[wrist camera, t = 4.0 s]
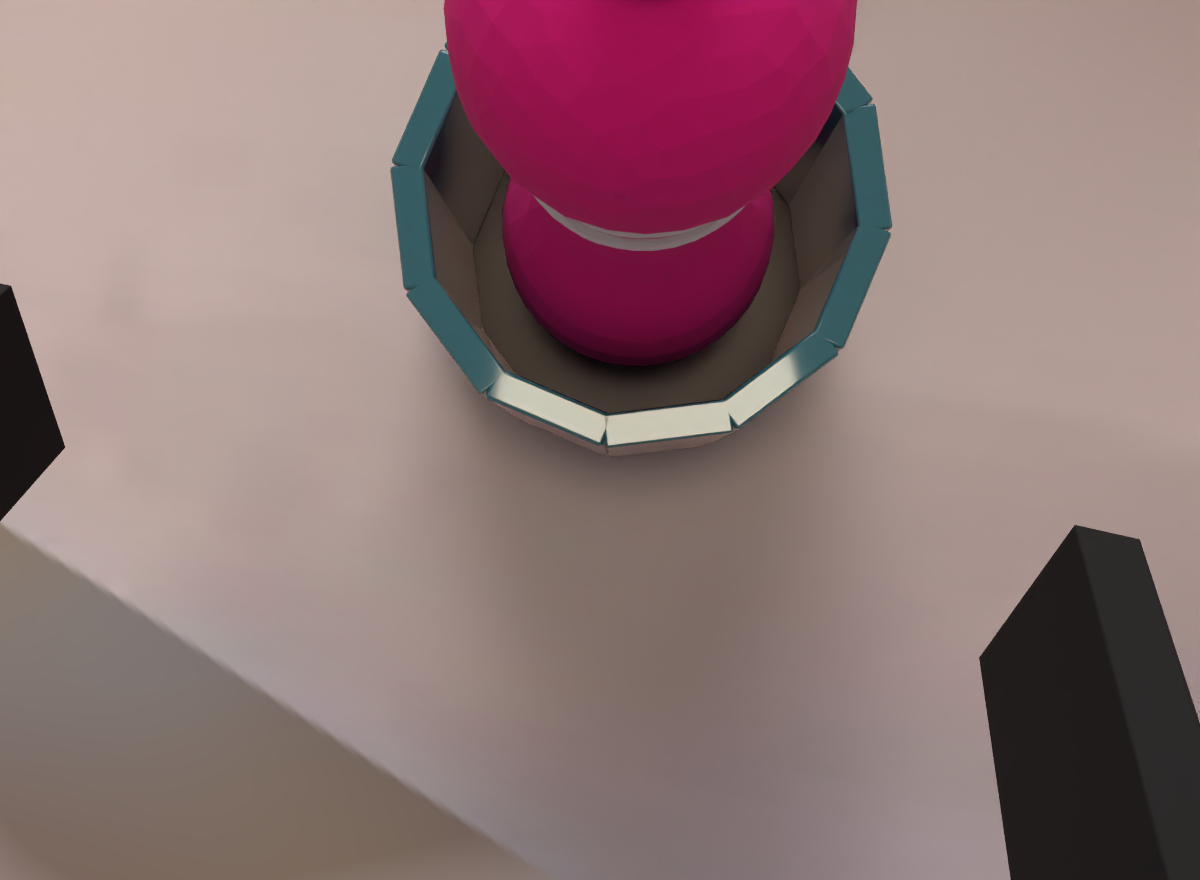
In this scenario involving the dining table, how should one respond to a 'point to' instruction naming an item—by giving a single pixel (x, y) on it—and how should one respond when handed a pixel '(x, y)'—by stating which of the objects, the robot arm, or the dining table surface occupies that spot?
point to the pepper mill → (644, 153)
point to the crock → (808, 342)
